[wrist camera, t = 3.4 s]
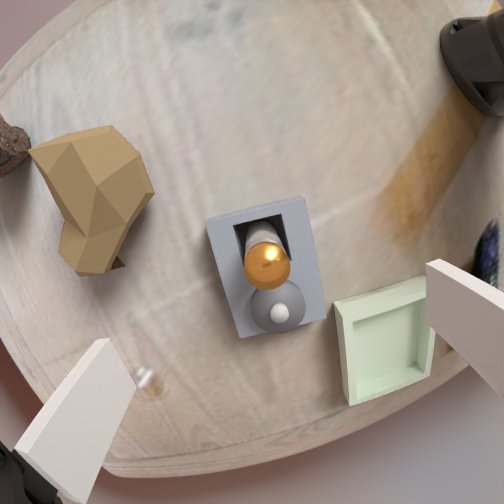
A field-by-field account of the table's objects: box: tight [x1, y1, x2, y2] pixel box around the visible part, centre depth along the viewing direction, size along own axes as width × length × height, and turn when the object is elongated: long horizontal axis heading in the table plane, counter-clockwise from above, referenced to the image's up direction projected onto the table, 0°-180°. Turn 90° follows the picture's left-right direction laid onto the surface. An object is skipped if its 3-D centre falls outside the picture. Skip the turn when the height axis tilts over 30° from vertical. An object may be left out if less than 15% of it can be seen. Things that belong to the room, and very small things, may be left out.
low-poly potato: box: [28, 125, 155, 277], centre depth 22 cm, size 15×11×12 cm
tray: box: [333, 275, 436, 406], centre depth 29 cm, size 14×12×4 cm
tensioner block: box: [205, 197, 327, 338], centre depth 26 cm, size 12×9×6 cm
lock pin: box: [244, 221, 291, 290], centre depth 23 cm, size 3×3×10 cm
